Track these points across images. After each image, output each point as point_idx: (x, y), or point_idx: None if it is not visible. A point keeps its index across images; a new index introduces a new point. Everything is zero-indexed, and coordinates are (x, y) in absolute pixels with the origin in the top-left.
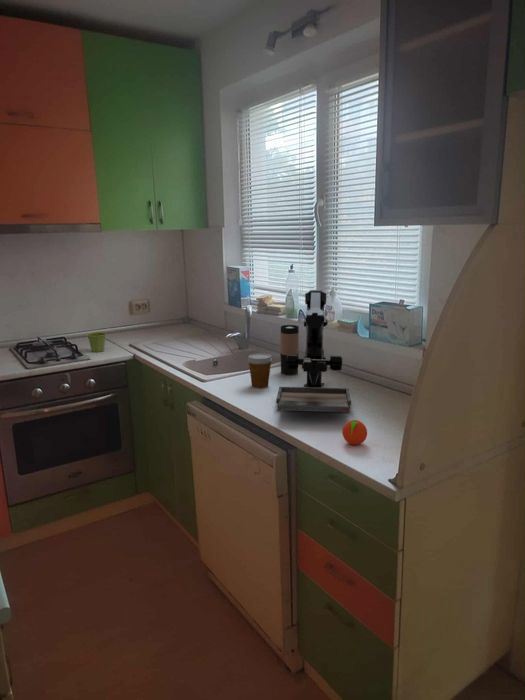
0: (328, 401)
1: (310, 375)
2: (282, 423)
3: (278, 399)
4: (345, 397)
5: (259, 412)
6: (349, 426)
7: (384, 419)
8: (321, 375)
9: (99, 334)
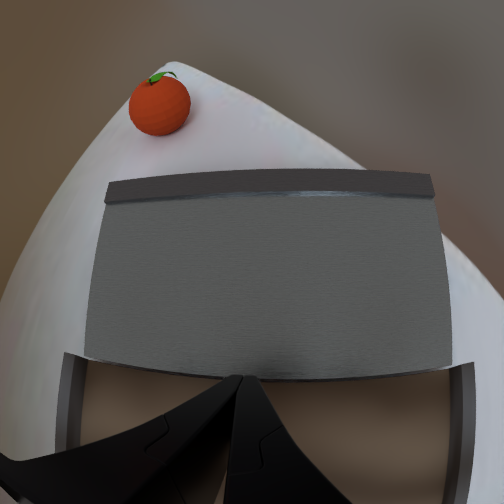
0: None
1: (274, 412)
2: None
3: (463, 364)
4: None
5: (491, 328)
6: (171, 77)
7: (31, 289)
8: None
9: None
